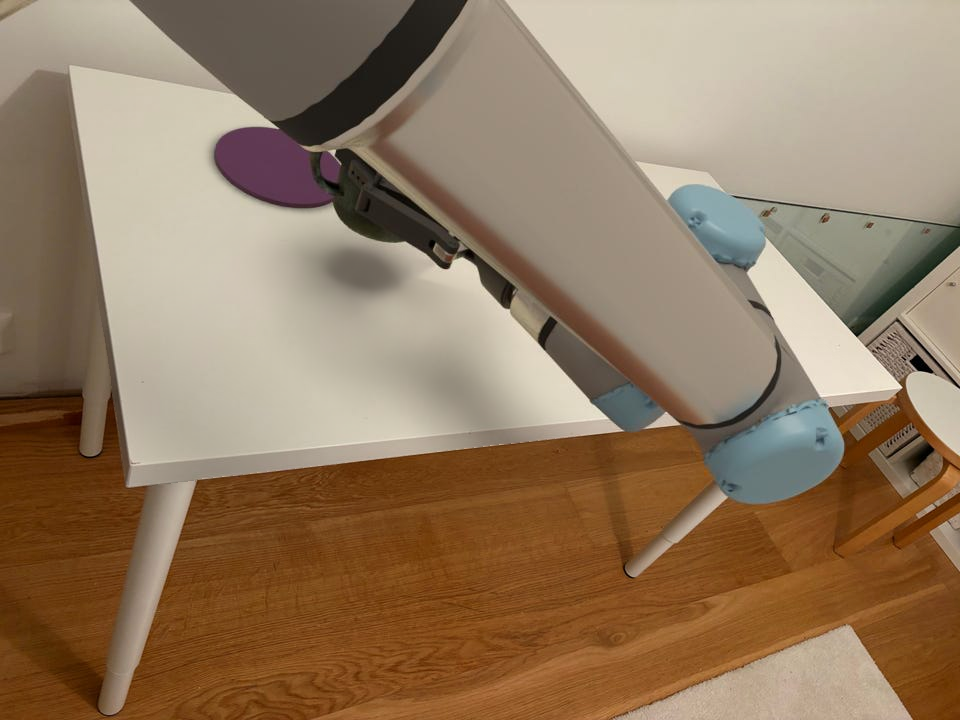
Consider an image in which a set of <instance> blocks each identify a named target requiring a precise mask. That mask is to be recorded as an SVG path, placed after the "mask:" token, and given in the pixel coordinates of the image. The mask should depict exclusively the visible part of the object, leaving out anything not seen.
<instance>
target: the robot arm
mask: <svg viewBox="0 0 960 720" xmlns="http://www.w3.org/2000/svg"><path fill="white" fill-rule="evenodd" d="M38 1H39V0H0V22H2V21H4V20H6V19H7V18H10V17H11V16H13V15H15V14H17V13H19V12H20V11H22V10H24V9H25V8H27V7H29V6H31V5H32V4H34V3H36V2H38ZM128 1H129V2H130V3H131V4H132V5H133V6H134V7H136V9H137V10H139V11H140V12H141V14H143V15H144V16H145V17H146V18H147V19H148V20H150V22H151V23H153V25H155V26H156V27H157V28H158V29H159V30H160V31H161V32H162V33H163V34H164V35H165V36H166V37H167V38H168V39H170V41H172V42H173V43H174V44H176V45H177V46H178V47H179V48H180V49H181V50H183V52H184V53H186V54H187V55H188V56H190V57H191V58H192V59H193V60H194V61H195V62H197V64H198V65H200V66H201V67H202V68H203V69H204V70H205V71H207V72H208V73H209V74H211V75H212V76H213V77H214V78H215V79H216V80H217V81H219V82H220V83H221V84H222V85H223V86H225V87H226V89H228V90H229V91H231V92H232V94H234V95H235V96H236V97H238V98H239V99H240V100H242V101H243V102H244V103H245V104H246V105H248V106H249V107H250V108H251V109H253V110H254V111H256V113H258V114H260V116H262V117H263V118H264V119H265V120H267V121H268V122H270V123H271V124H272V125H273V126H275V127H276V128H277V129H280V130H281V131H283V132H284V133H285V134H286V135H288V136H289V137H290V138H291V139H293V140H294V141H295V142H297V143H298V144H299V145H300V146H302V147H303V148H304V149H306V150H309V151H312V152H321V151H328V152H329V151H334V150H335V152H334V158H335V159H336V160H337V161H338V162H339V164H340V165H341V164H342V165H343V166H344V167H345V168H346V169H347V170H348V175H349V177H350V178H351V179H352V181H353V182H354V183H356V185H357V186H358V187H359V188H360V189H361V192H360V195H359V198H358V201H357V204H356V208H355V210H356V212H357V213H359V214H360V215H362V216H364V217H365V218H367V219H369V220H370V221H372V222H374V223H375V224H377V225H379V226H380V227H382V228H384V229H385V230H387V231H388V232H390V233H392V234H393V235H395V236H397V237H398V238H400V239H402V240H403V241H405V243H407V244H408V245H410V246H412V248H414V249H416V250H418V251H420V252H421V253H423V254H425V255H426V256H427V257H428V258H429V259H430V260H431V261H432V262H433V263H434V264H436V265H437V266H438V267H439V268H440V269H442V270H450V269H451V266H452V264H453V263H454V261H456V260H459V259H462V258H463V259H465V260H466V261H469V262H470V263H472V264H473V265H474V266H475V267H476V269H477V272H478V277H479V281H480V283H481V285H482V287H483V288H484V289H485V290H486V291H487V292H488V293H489V294H490V295H491V297H492V298H493V299H494V300H495V301H496V302H497V303H498V304H499V305H500V306H501V307H502V308H503V309H505V310H509V314H510V315H511V318H513V319H514V320H515V321H516V322H517V323H518V324H519V325H520V326H521V327H522V328H523V330H525V331H526V333H528V335H529V336H530V337H531V338H532V339H533V340H534V341H535V342H536V343H537V344H538V345H539V346H540V348H541V349H542V350H543V351H544V352H545V353H546V354H547V355H548V356H549V357H550V358H551V360H552V361H553V362H554V363H555V364H556V365H557V366H558V367H559V368H560V369H561V370H562V372H563V373H564V374H565V375H566V376H567V377H568V378H569V380H570V381H572V383H573V384H574V385H575V386H576V387H577V388H578V389H579V390H580V392H582V394H583V395H585V397H586V398H587V399H588V401H589V403H590V404H591V405H593V406H595V407H596V408H597V409H598V410H599V412H601V413H602V414H603V415H604V416H605V417H606V418H608V420H610V421H611V422H612V423H613V424H614V425H615V426H617V427H618V428H619V429H620V430H622V431H623V432H627V433H637V432H640V431H643V430H644V429H646V428H647V427H650V426H651V425H653V423H655V422H656V421H657V420H659V419H660V418H661V417H662V416H664V415H665V414H666V413H667V414H668V415H670V416H671V417H672V419H673V420H675V421H676V422H677V423H678V424H679V425H680V426H681V427H683V428H684V430H686V431H688V432H689V433H690V435H692V437H693V438H694V439H695V441H696V443H697V444H698V446H699V449H700V451H701V453H702V456H703V457H702V461H703V465H704V466H705V467H707V469H708V470H709V472H710V474H711V476H712V477H713V480H714V481H715V483H716V484H717V487H718V488H719V490H720V491H721V492H722V493H723V495H724V496H726V497H728V498H729V499H731V500H732V501H734V502H737V503H740V504H741V503H742V504H747V505H767V504H771V503H772V504H773V503H778V502H780V501H785V500H788V499H791V498H794V497H796V496H798V495H800V494H803V493H805V492H806V491H809V490H810V489H812V488H814V487H816V486H818V485H819V484H821V483H822V482H824V481H825V480H827V478H828V477H830V476H831V474H833V473H834V471H835V470H836V469H837V468H838V467H839V465H840V463H841V461H842V460H843V457H844V454H845V453H844V452H845V440H844V438H843V435H842V434H841V431H840V430H839V428H838V425H837V424H836V422H835V420H834V418H833V416H832V414H831V413H830V410H829V408H830V406H829V404H828V402H827V400H825V399H824V398H822V397H821V395H820V394H819V392H818V391H817V389H816V387H815V385H814V384H813V382H812V381H811V379H810V377H809V375H808V374H807V372H806V371H805V369H804V366H803V365H802V364H801V362H800V361H799V359H798V357H797V356H796V354H795V352H794V351H793V349H792V347H791V346H790V344H789V343H788V341H787V339H786V338H785V336H784V335H783V333H782V331H781V330H780V328H779V327H778V325H777V323H776V321H775V319H774V316H773V315H772V313H771V311H770V309H769V307H768V306H767V304H766V303H765V301H764V299H763V297H762V296H761V294H760V293H759V291H758V289H757V288H756V285H755V284H754V282H753V281H752V279H751V278H750V276H749V274H748V272H749V271H750V269H751V268H753V267H755V265H756V264H757V261H758V259H759V258H760V256H761V255H762V252H763V251H764V249H765V248H766V245H767V239H766V234H767V230H766V229H765V226H764V224H763V222H762V221H761V219H760V218H759V217H758V216H757V215H756V214H755V212H753V211H752V209H750V207H749V206H747V205H746V204H744V203H743V202H742V201H741V200H739V199H738V198H736V197H734V196H732V195H730V194H729V193H728V192H725V191H724V190H721V189H719V188H716V187H712V186H708V185H705V184H699V183H690V184H685V185H682V186H680V187H678V188H676V189H675V190H674V191H673V192H672V193H671V194H669V197H668V198H667V199H666V197H665V196H664V195H663V194H662V192H661V191H660V190H659V188H657V186H656V185H655V184H654V182H653V181H651V178H649V176H648V175H647V174H646V173H645V172H644V170H643V169H642V168H641V167H640V166H639V164H638V163H637V161H636V160H635V159H634V158H633V157H632V156H631V154H630V153H629V152H628V151H627V149H626V148H625V147H624V146H623V144H622V143H621V142H620V141H619V140H618V138H617V137H616V136H615V134H613V132H612V131H611V129H609V127H608V126H607V125H606V124H605V122H604V121H603V120H602V118H601V117H600V116H599V115H598V113H597V112H596V111H595V110H594V109H593V108H592V106H591V105H590V104H589V103H588V101H587V100H586V99H585V98H584V96H583V95H582V94H581V92H580V91H579V89H577V88H576V86H575V85H574V84H573V83H572V81H571V80H570V79H569V78H568V77H567V75H566V74H565V72H564V71H563V70H562V69H561V68H560V67H559V65H558V64H557V63H556V62H555V60H554V59H553V58H552V57H551V56H550V54H549V53H548V52H547V51H546V49H545V48H544V47H543V45H541V43H540V41H538V39H537V38H536V37H535V35H534V34H533V33H532V32H531V30H529V28H528V27H527V26H526V25H525V24H524V22H523V20H521V19H520V17H519V16H518V15H517V14H516V12H515V11H514V10H513V9H512V8H511V6H510V5H509V4H508V2H507V1H506V0H128ZM385 192H387V194H386V193H385Z"/></svg>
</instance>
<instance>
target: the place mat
mask: <svg viewBox="0 0 960 720" xmlns="http://www.w3.org/2000/svg"><path fill="white" fill-rule="evenodd" d="M214 161H215V164H216V167H217V168H218V170H219V171H220V173H221V174H222V175H223V176H224V178H225V179H226V180H227V181H228V182H229V183H231V184H232V185H233V186H235V187H236V188H237V189H239V190H240V191H242V192H244V193H246V194H247V195H250V196H252V197H254V198H256V199H259V200H261V201H263V202H267V203H269V204H273V205H277V206H282V207H288V208H297V209H298V208H299V209H301V208H304V209H305V208H306V209H308V208H316V207H322V206H324V205H328V204H330V203H333V197H334V196H333V195H330V194H327V193H326V192H324V191H323V190H321V189H320V187H319V186H318V185H317V183H316V181H315V180H314V178H313V175H312V171H311V166H310V151H309V150H306V149H304V148H303V147H302V146H300V145H299V144H298V143H297V142H295V141H294V140H293V139H291V138H290V137H289V136H288V135H286V134H285V133H284V132H283V131H281V130H280V129H279V128H275V127H269V126H246V127H240V128H236V129H233V130H230V131H228V132H226V133H225V134H223V135H222V136H221V137H220V138H219V139H218V140H217V142H216V144H215V147H214ZM340 167H341V163H340V161H339V160H338V159H337V158H336V157H335V156H333V154H331V153H330V152H329V151H324V152H323V153H322V156H321V160H320V168H321V173H322V176H323V177H324V178H325V179H326V180H329V181H331V182H334V183H337V179H338V175H339V171H340Z"/></svg>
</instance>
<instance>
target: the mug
mask: <svg viewBox="0 0 960 720" xmlns="http://www.w3.org/2000/svg"><path fill="white" fill-rule="evenodd" d="M323 152H324V151H321V152H312V151H310V166H311V171H312V175H313V178H314V180H315V181H316V183H317V185H318V186H319V187H320V189H321V190H323V191H324V192H326V193H327V194H330V195H333V196H334V197H333V201H332V204H333V205H332V206H333V208H334V211H335V213H336V215H337V217H338V219H339V221H341V222H342V223H343V225H345V226H346V227H347V228H348V229H350V230H351V231H353V232H354V233H356V234H358V235H360V236H361V237H364V238H367V239H370V240H373V241H375V242H376V241H377V242H381V243H388V244H391V243H393V244H397V243H398V244H399V243H404V242H405V241H403V240H402V239H400V238H398V237H397V236H395V235H393V234H392V233H390V232H388V231H387V230H385V229H384V228H382V227H380V226H379V225H377V224H375V223H374V222H372V221H370V220H369V219H367V218H365V217H364V216H362V215H360V214H359V213H357V212H356V210H355V208H356V204H357V201H358V198H359V195H360V192H361V189H360V188H359V187H358V186H357V185H356V183H354V182H353V181H352V179H351V178H350V177H349V175H348V170H347V169H346V168H345V167H344V166H343V165H342V164H341V163H340V165H341V167H340V171H339V175H338V179H337V183H334V182H331V181H329V180H326V179H325V178H324V177H323V176H322V173H321V168H320V160H321V156H322V153H323ZM385 193H386V194H387V192H385ZM405 243H406V242H405Z"/></svg>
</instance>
